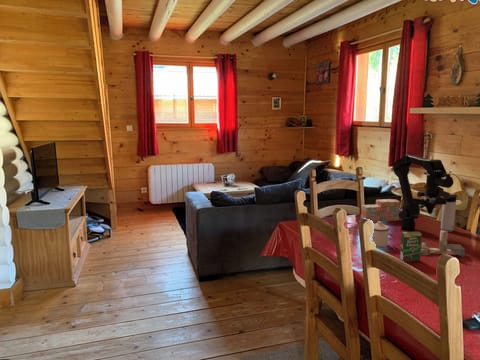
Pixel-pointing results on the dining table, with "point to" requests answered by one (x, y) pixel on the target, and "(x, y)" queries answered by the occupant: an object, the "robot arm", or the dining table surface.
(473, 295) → the dining table surface
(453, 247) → the keeper
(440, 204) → the robot arm
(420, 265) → the dining table surface
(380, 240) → the teacup with lid
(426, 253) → the pintle
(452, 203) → the travel mug
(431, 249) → the link
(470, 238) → the dining table surface
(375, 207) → the stack of blocks
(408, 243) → the coffee box
